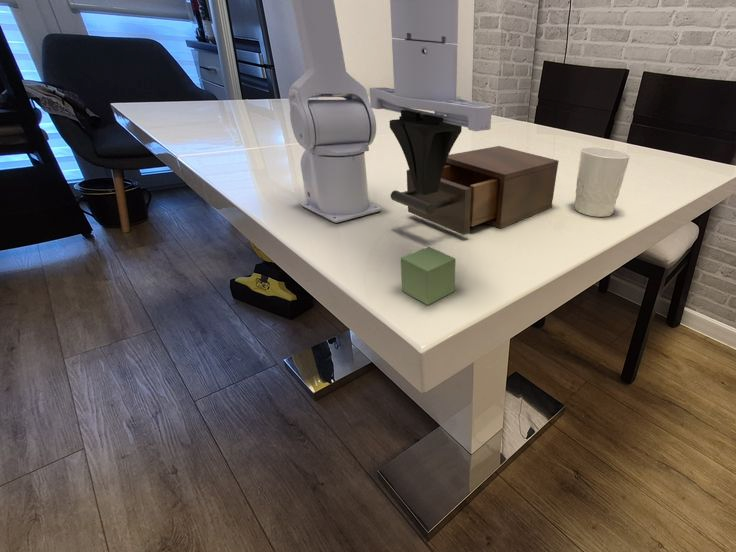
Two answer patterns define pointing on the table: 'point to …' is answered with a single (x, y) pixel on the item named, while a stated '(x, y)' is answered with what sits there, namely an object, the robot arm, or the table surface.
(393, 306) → the table surface
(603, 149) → the white cup
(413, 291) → the block
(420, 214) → the drawer
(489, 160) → the cabinet
